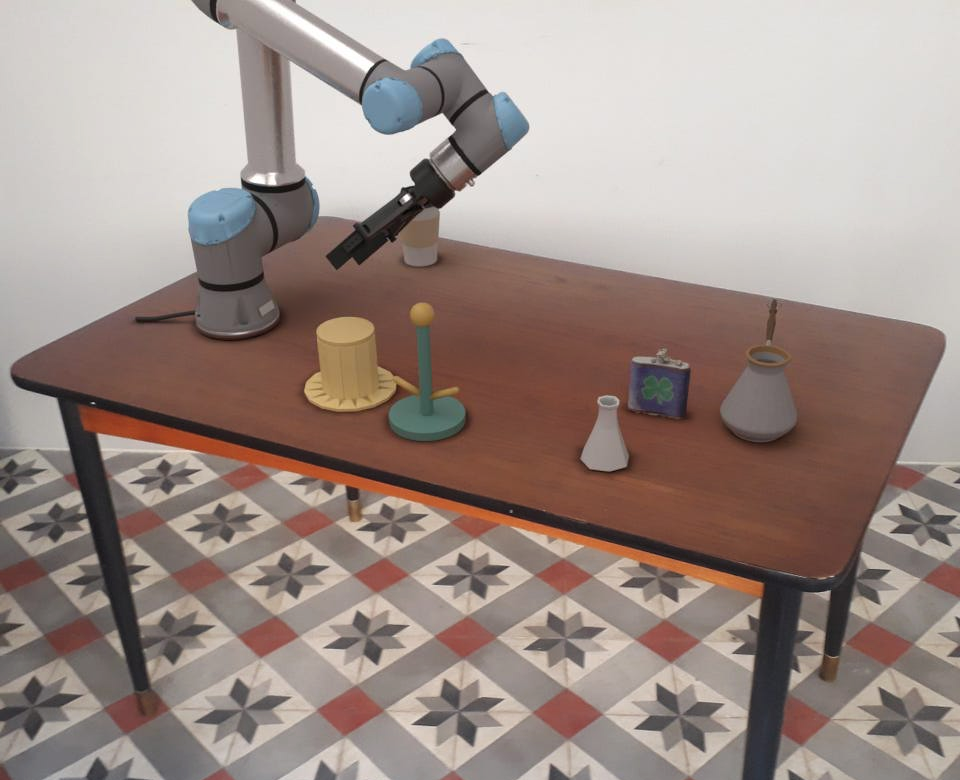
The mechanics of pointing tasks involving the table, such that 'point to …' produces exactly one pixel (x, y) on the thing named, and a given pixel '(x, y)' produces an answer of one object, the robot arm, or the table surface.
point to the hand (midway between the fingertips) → (343, 261)
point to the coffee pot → (761, 393)
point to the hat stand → (426, 393)
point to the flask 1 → (606, 439)
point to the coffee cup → (421, 237)
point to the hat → (348, 368)
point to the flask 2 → (659, 386)
